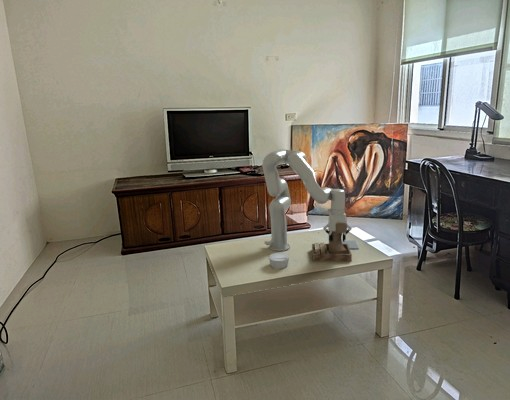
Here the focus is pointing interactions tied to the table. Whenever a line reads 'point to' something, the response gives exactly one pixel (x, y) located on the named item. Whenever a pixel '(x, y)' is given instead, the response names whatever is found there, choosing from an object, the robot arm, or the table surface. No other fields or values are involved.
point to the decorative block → (338, 240)
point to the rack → (332, 256)
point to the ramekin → (279, 260)
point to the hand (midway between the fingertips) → (337, 240)
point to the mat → (351, 244)
